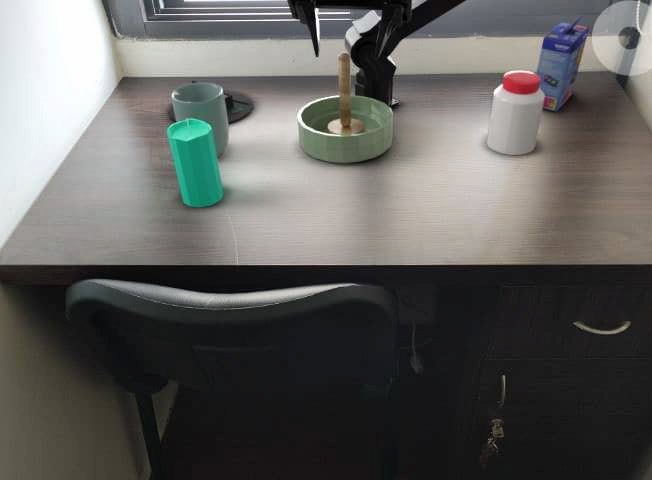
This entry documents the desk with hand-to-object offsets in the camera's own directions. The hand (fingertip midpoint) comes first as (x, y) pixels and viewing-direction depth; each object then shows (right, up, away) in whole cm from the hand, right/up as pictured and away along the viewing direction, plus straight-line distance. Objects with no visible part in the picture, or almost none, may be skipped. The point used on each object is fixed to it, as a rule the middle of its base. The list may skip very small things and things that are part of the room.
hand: (346, 57), depth 92 cm
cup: (-23, -13, +7) cm, 27 cm away
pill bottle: (+27, -12, +7) cm, 30 cm away
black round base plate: (-25, -2, +19) cm, 31 cm away
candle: (-21, -22, -4) cm, 31 cm away
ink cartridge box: (+38, 0, +19) cm, 42 cm away
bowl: (0, -11, +8) cm, 14 cm away
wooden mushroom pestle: (0, -11, +8) cm, 13 cm away
